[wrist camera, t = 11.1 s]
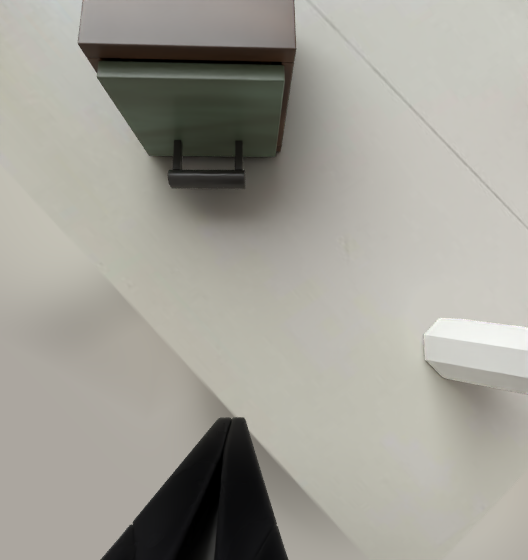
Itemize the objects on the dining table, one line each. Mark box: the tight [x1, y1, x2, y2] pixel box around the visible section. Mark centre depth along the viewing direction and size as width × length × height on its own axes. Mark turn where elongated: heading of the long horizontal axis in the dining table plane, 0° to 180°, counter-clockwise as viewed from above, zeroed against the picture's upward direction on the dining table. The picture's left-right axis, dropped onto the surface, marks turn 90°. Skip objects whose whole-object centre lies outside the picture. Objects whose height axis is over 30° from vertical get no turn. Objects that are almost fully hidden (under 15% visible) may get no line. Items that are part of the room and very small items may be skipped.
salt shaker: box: [423, 318, 528, 395], centre depth 16 cm, size 5×5×11 cm
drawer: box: [97, 58, 285, 189], centre depth 19 cm, size 18×11×7 cm, turn 1°
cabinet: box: [78, 0, 296, 152], centre depth 20 cm, size 15×13×9 cm
